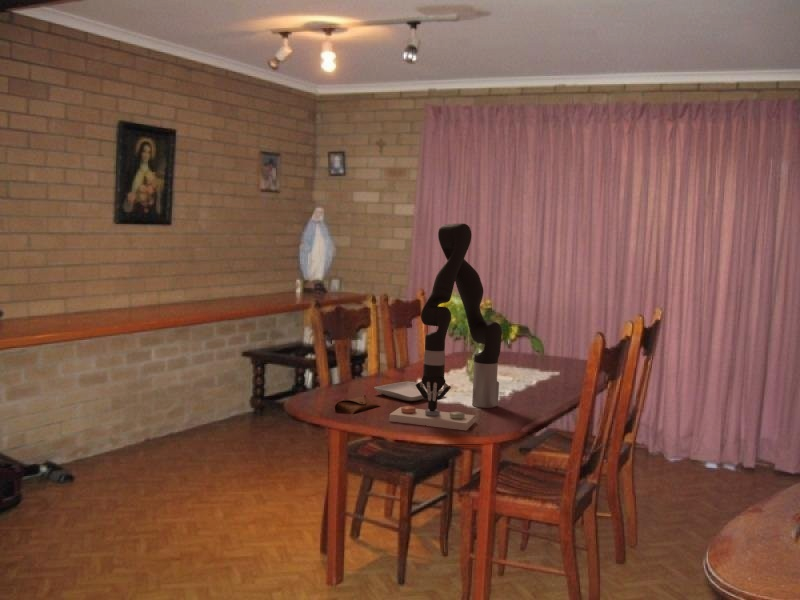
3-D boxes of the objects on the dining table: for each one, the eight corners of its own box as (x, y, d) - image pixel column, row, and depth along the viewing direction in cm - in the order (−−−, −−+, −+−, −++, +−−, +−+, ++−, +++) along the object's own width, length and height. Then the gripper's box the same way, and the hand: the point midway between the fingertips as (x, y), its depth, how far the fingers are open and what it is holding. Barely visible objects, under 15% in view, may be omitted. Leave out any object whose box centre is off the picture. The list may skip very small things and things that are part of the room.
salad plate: (445, 397, 320) (446, 388, 320) (411, 405, 304) (412, 396, 304) (407, 388, 334) (407, 380, 334) (372, 395, 318) (372, 387, 318)
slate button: (435, 418, 282) (435, 408, 282) (442, 422, 278) (442, 411, 277) (422, 420, 280) (422, 409, 279) (429, 423, 275) (429, 413, 275)
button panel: (474, 422, 280) (474, 415, 280) (466, 430, 269) (466, 423, 268) (400, 413, 289) (400, 406, 289) (389, 421, 278) (389, 414, 277)
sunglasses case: (352, 414, 285) (345, 397, 286) (339, 421, 289) (332, 404, 290) (381, 405, 300) (374, 389, 301) (368, 412, 303) (362, 396, 305)
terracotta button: (411, 415, 285) (411, 405, 285) (417, 419, 280) (418, 409, 280) (398, 417, 283) (398, 406, 282) (404, 420, 278) (405, 410, 278)
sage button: (459, 421, 279) (459, 411, 279) (466, 425, 275) (467, 414, 274) (446, 422, 277) (447, 412, 277) (454, 426, 272) (454, 415, 272)
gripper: (455, 362, 278) (453, 410, 280) (419, 359, 282) (417, 406, 284) (449, 366, 271) (447, 415, 273) (413, 362, 275) (411, 410, 277)
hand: (432, 410), depth 278 cm, fingers closed
